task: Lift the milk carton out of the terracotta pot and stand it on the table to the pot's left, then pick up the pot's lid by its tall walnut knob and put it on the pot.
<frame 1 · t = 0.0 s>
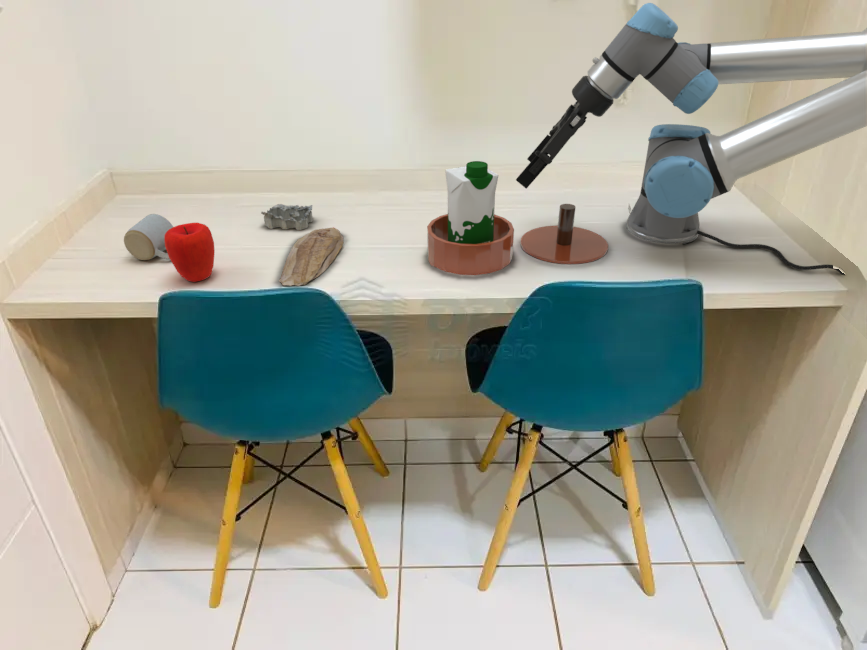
hand: (526, 173, 128), 15 cm above the table, tool tilted 35°, fingers open, 13 cm apart
egg carton: (289, 224, 147), on the table
lid: (563, 244, 133), point 1 cm above the table
milk carton: (469, 257, 130), resting on pot
fish fossil: (311, 257, 132), on the table
apple: (198, 277, 125), on the table
ceramic mug: (160, 255, 134), on the table
pot: (469, 258, 130), on the table
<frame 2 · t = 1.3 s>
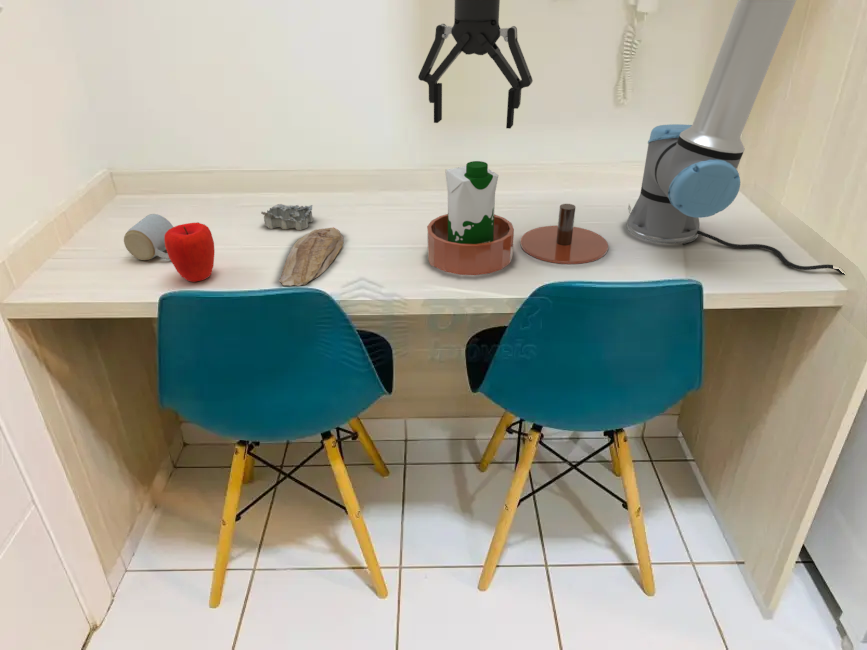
hand: (473, 124, 116), 27 cm above the table, tool pointing down, fingers open, 13 cm apart
nothing on the table moved.
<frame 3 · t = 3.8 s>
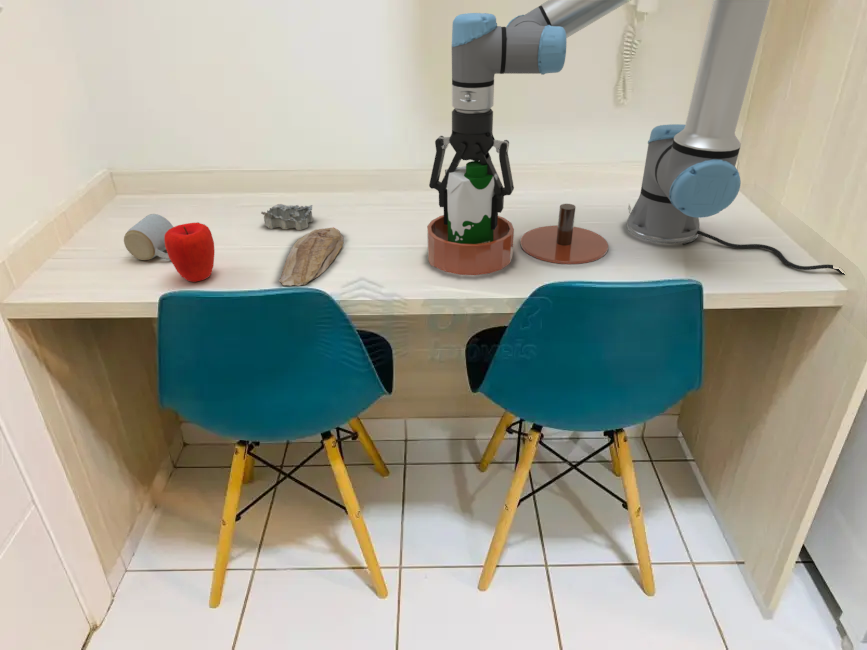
hand: (470, 224, 126), 7 cm above the table, tool pointing down, fingers closed on milk carton, 9 cm apart
milk carton: (469, 257, 130), resting on pot, touching gripper
everything else where it was.
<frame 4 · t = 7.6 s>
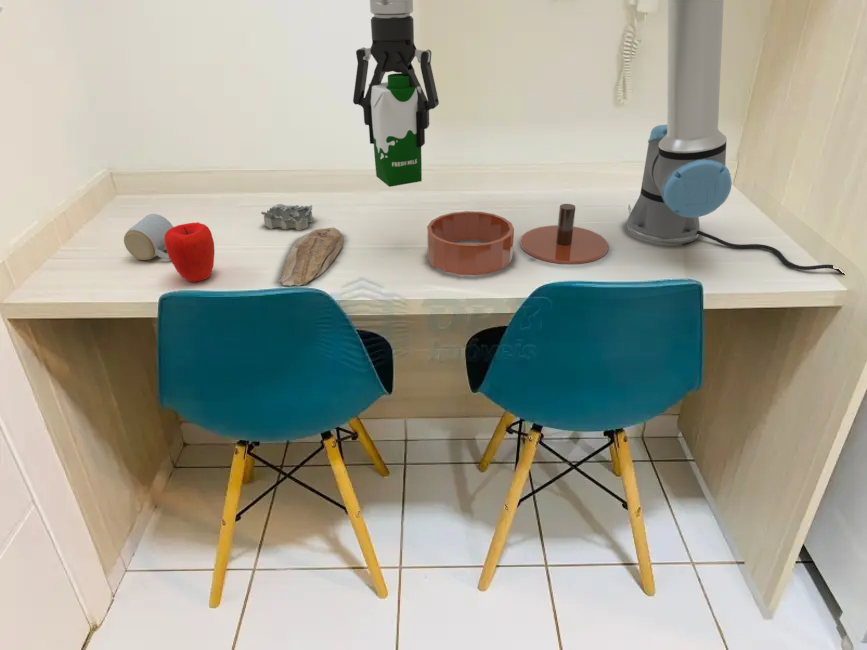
hand: (397, 143, 122), 22 cm above the table, tool pointing down, fingers closed on milk carton, 9 cm apart
milk carton: (398, 179, 126), point 15 cm above the table, touching gripper
everything else where it was.
when the fingers open (7 cm above the table, at t = 11.5 s): milk carton stays where it is, on the table.
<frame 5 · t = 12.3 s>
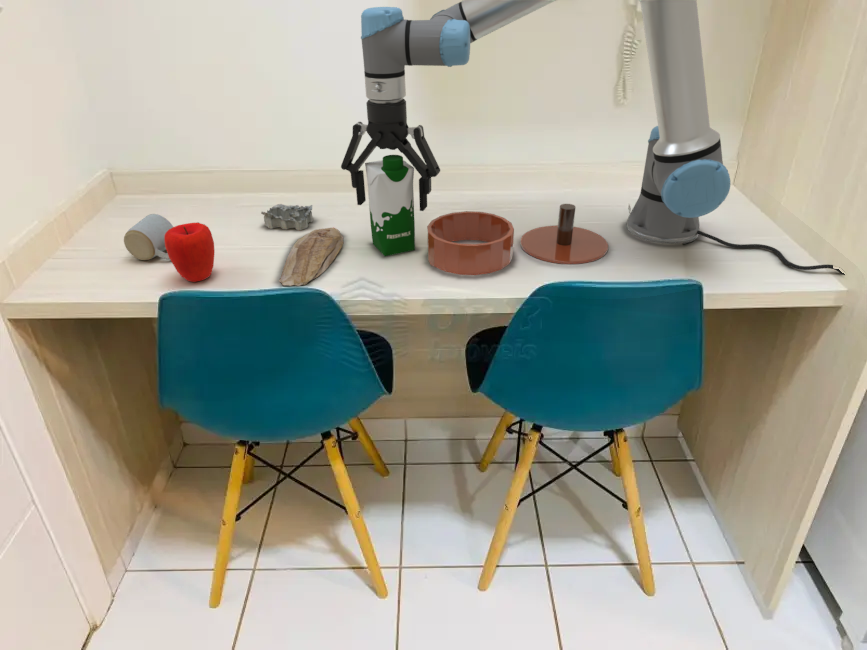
hand: (392, 205, 130), 9 cm above the table, tool pointing down, fingers open, 13 cm apart
milk carton: (393, 247, 135), on the table
everything else where it was.
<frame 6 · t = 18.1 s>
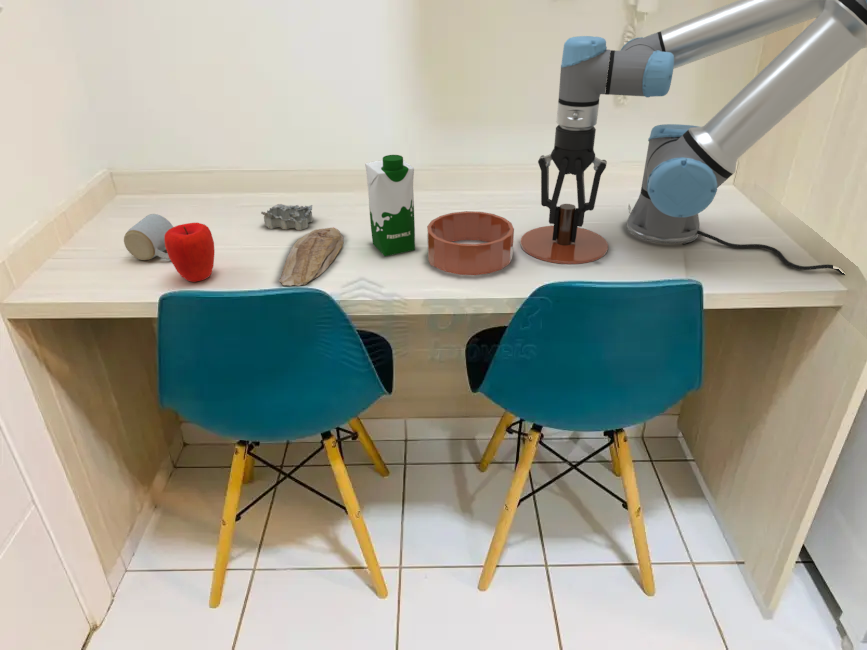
hand: (564, 238, 132), 2 cm above the table, tool pointing down, fingers closed on lid, 3 cm apart
lid: (563, 244, 133), point 1 cm above the table, touching gripper
everything else where it was.
when the fingers open (8 cm above the table, at t = 24.5 s): lid stays where it is, resting on pot.
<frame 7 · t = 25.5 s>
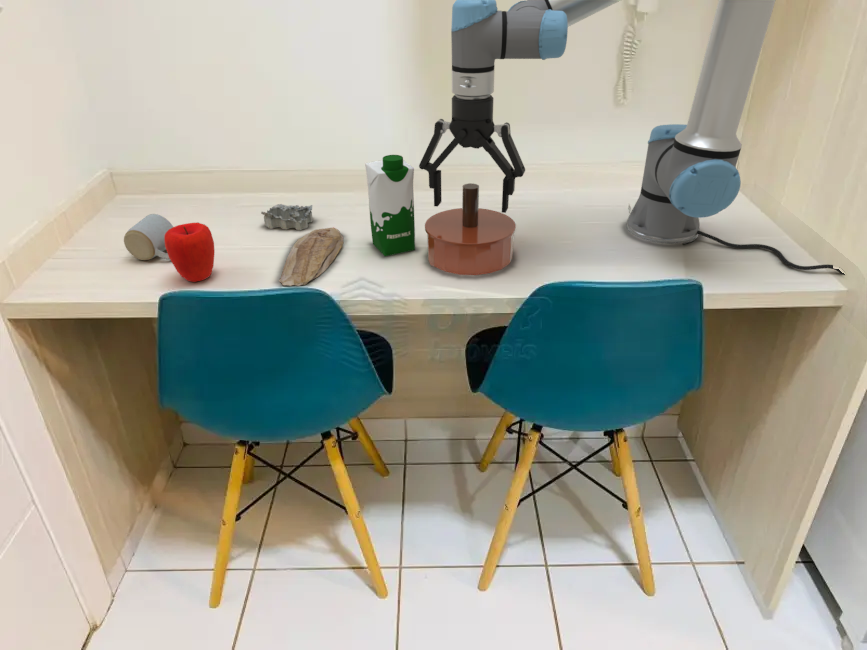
hand: (470, 207, 124), 11 cm above the table, tool pointing down, fingers open, 13 cm apart
lid: (470, 227, 126), point 7 cm above the table, touching pot
everything else where it was.
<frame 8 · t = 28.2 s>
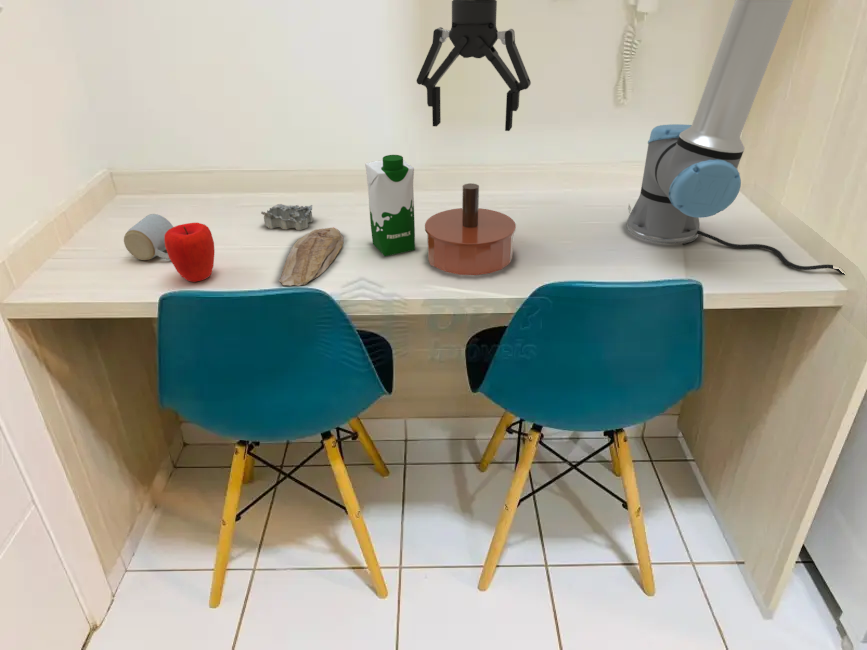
hand: (472, 127, 116), 27 cm above the table, tool pointing down, fingers open, 13 cm apart
nothing on the table moved.
at the end: milk carton inside the target area (0.1 cm from its centre), on the table; lid 0.0 cm off-centre on the pot, point 6.8 cm above the pot's base; lid tilted 0° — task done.
